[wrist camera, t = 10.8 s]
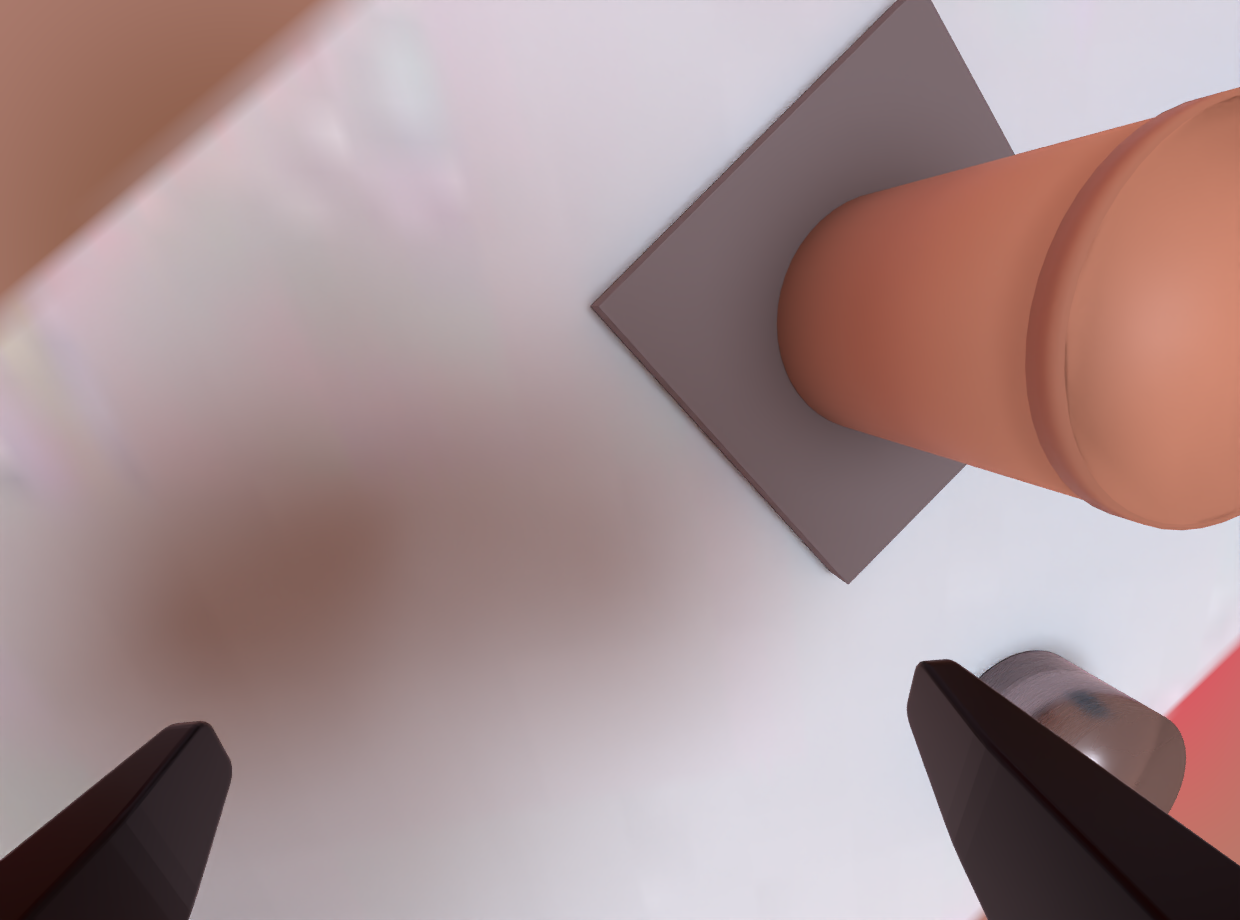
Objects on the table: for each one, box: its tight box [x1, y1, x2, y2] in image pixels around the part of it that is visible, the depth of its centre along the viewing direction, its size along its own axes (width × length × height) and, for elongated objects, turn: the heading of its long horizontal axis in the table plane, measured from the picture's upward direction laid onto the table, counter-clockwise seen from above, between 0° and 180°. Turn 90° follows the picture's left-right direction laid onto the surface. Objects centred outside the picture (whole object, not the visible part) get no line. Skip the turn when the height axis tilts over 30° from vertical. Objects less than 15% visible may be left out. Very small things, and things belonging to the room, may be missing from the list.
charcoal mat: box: [591, 0, 1015, 584], centre depth 19 cm, size 12×12×1 cm
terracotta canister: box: [777, 87, 1240, 530], centre depth 15 cm, size 7×7×9 cm
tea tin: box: [980, 651, 1186, 814], centre depth 24 cm, size 6×6×4 cm
